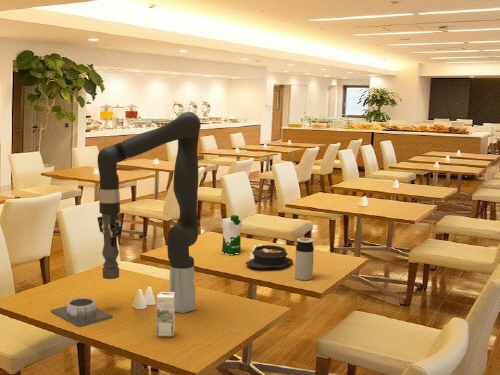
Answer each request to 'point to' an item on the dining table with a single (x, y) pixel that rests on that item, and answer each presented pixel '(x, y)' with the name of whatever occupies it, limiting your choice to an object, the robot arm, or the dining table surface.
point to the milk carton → (231, 235)
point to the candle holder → (109, 252)
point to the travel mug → (304, 259)
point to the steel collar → (81, 312)
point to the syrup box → (165, 314)
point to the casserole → (269, 257)
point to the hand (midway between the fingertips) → (110, 245)
